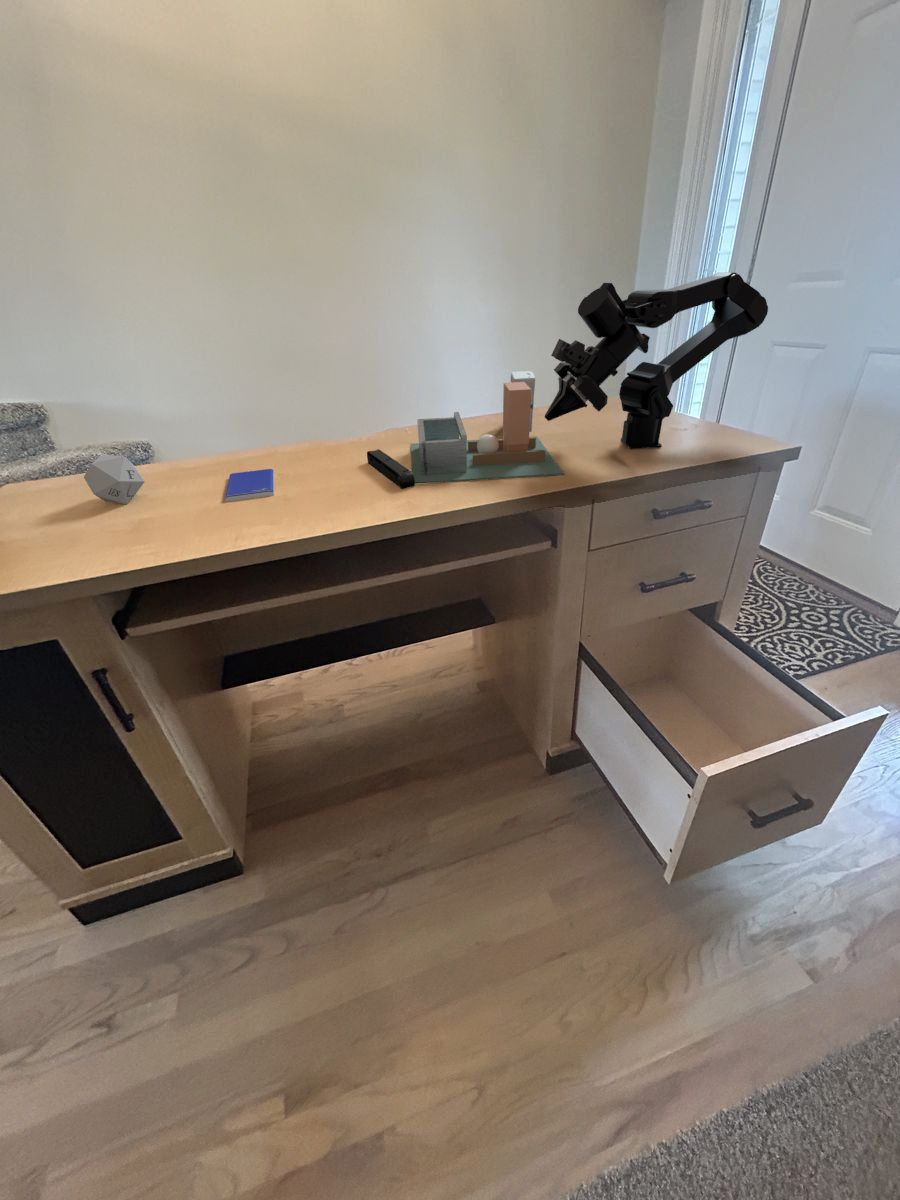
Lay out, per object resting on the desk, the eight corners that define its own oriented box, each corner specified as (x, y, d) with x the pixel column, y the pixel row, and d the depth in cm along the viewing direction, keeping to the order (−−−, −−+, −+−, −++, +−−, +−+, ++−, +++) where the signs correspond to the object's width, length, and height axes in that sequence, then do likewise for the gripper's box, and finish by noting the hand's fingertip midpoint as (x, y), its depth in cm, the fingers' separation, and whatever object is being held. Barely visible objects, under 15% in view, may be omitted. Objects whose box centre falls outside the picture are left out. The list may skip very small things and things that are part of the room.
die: (99, 517, 90) (119, 470, 87) (66, 486, 92) (84, 439, 88) (141, 515, 98) (160, 472, 95) (110, 487, 99) (128, 443, 96)
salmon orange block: (521, 448, 110) (524, 381, 103) (528, 459, 104) (531, 389, 97) (502, 449, 110) (503, 382, 103) (508, 460, 104) (509, 390, 97)
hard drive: (273, 489, 94) (272, 468, 104) (224, 495, 92) (229, 473, 102) (275, 498, 95) (274, 475, 105) (226, 504, 93) (231, 481, 103)
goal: (459, 445, 114) (458, 411, 110) (467, 472, 99) (466, 435, 96) (419, 447, 113) (416, 414, 110) (421, 475, 99) (418, 437, 95)
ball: (497, 452, 109) (497, 431, 106) (500, 459, 105) (500, 437, 103) (475, 453, 108) (475, 432, 106) (478, 460, 105) (478, 438, 102)
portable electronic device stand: (415, 489, 95) (414, 472, 93) (402, 491, 94) (401, 475, 92) (379, 462, 108) (377, 447, 107) (367, 464, 108) (365, 449, 106)
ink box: (508, 423, 129) (509, 371, 122) (529, 422, 128) (531, 370, 122) (511, 433, 121) (512, 378, 115) (533, 432, 121) (535, 377, 115)
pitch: (536, 437, 117) (537, 427, 116) (563, 474, 97) (564, 462, 96) (410, 445, 116) (410, 434, 115) (411, 484, 96) (410, 471, 95)
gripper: (568, 316, 102) (510, 380, 108) (597, 327, 87) (527, 400, 92) (603, 358, 107) (545, 417, 113) (637, 375, 91) (568, 443, 97)
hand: (546, 418), depth 103 cm, fingers closed
